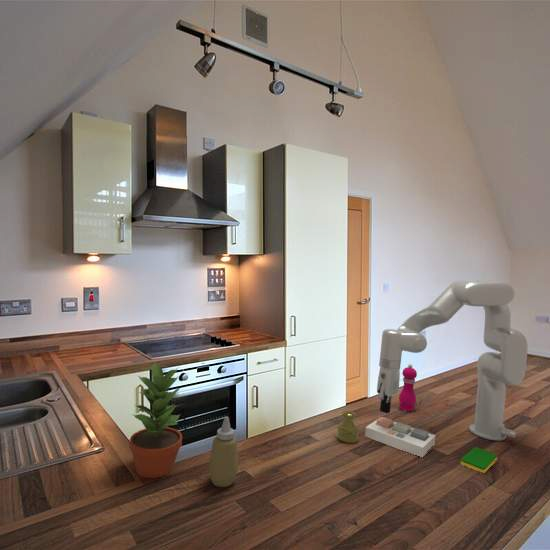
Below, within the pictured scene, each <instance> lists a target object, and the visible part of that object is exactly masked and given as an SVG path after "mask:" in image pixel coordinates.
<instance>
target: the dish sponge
mask: <svg viewBox="0 0 550 550" xmlns="http://www.w3.org/2000/svg"><path fill="white" fill-rule="evenodd" d="M496 460H497V461H498V454H497V453H493V452H490V451H488V450H486V449H482V448H479V447H476V446H474V447H473V448H472V449H471V450H470V451H468V452H467V453H466V454H465V455H464V456H463V457H462V458H460V464H462V465H465V466H467V467H469V468H472V469H474V470H477V471H480V472H483V473H485V472H486V471H487V470H488V469H489V468H490V467H491V466H492V467H493V466H494V465H495V464H496V462H497V461H496ZM495 461H496V462H495ZM469 468H468V469H469ZM490 469H491V468H490ZM490 469H489V470H490ZM489 470H488V471H489ZM488 471H487V472H488ZM487 472H486V473H487ZM486 473H485V474H486Z"/></svg>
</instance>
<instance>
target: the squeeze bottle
mask: <svg viewBox="0 0 550 550" xmlns="http://www.w3.org/2000/svg"><path fill="white" fill-rule="evenodd" d="M237 439H238V438H236V437H235V430H234V429H233V428H232V427H231V423H230V417H229V416H224V418H223V422H222V425H221V427H219V428H218V429H217V431H216V436H214V438H213V439H212V445H211V450H210V451H211V452H210V458H209V463H208V473H209V477H210V480H211V483H212V484H213V486H215V487H218V488H227V487H229V486H231V485H233V483H234V480H235V478H236V475H237V473H238V470H239V463H238V461H239V460H238V459H239V457H238V440H237Z"/></svg>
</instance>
